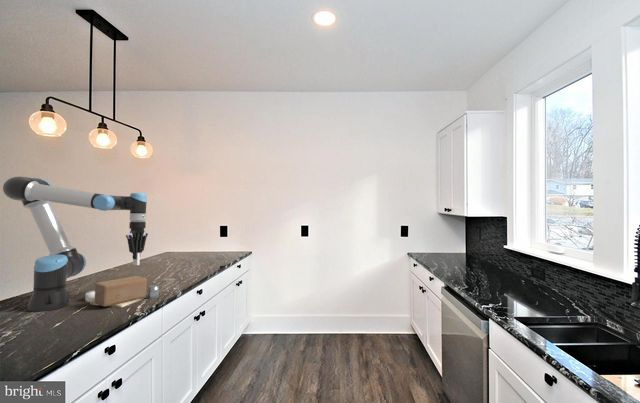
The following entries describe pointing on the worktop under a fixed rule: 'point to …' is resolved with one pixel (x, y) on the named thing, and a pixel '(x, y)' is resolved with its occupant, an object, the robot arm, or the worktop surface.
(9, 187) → the robot arm
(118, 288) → the wooden block
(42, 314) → the worktop surface
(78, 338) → the worktop surface
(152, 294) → the grey ball
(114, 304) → the board
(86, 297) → the white rounded lump
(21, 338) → the worktop surface
